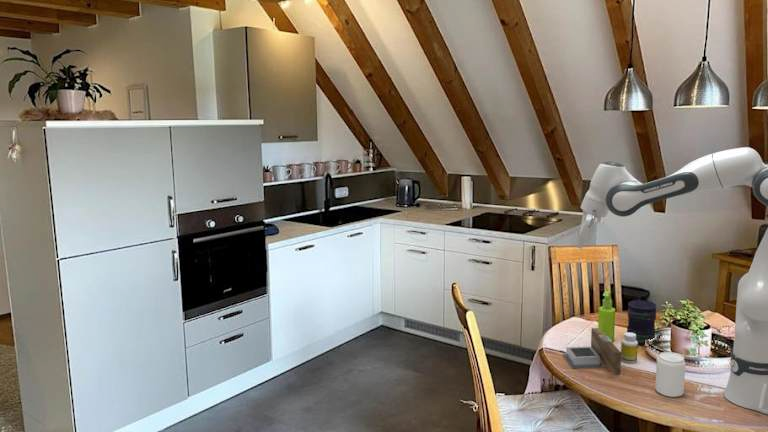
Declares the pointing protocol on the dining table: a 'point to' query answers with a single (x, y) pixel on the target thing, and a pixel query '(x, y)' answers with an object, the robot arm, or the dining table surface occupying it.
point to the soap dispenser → (607, 317)
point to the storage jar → (641, 320)
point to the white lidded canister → (670, 374)
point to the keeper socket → (582, 358)
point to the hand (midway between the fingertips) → (580, 243)
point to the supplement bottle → (629, 348)
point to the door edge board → (606, 351)
